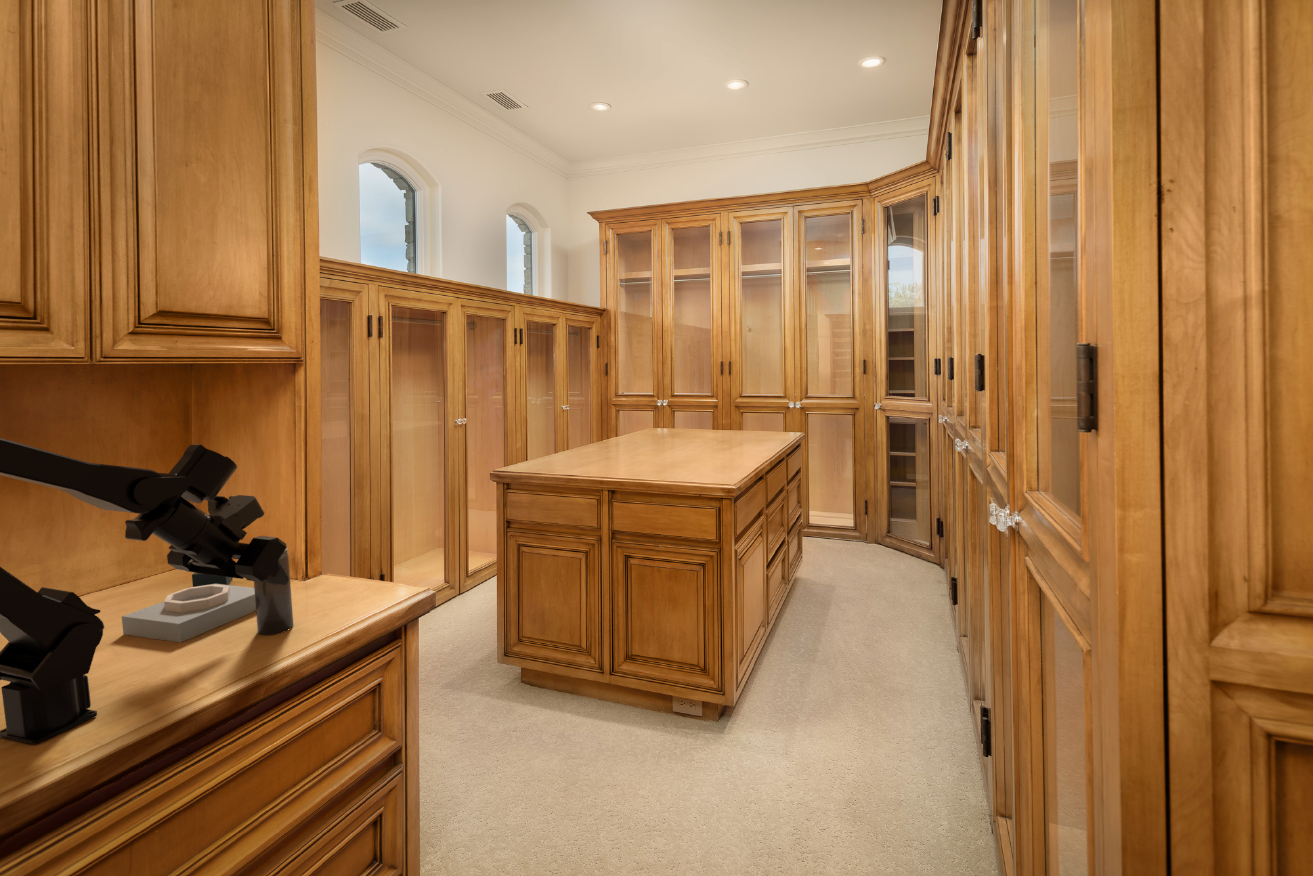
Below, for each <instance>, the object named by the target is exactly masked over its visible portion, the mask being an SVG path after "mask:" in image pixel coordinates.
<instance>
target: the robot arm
mask: <svg viewBox="0 0 1313 876" xmlns="http://www.w3.org/2000/svg"><path fill="white" fill-rule="evenodd" d="M237 469H238V466H237V464H236V462H235V461H234V460H232V459H231V458H230V457H228V456H224V455H223V454H221V453H219V452H216V451H214V450H212V449H209V448H206V446H204V445H202V444H194V443H192V444H189V445H188V447H187V448H185V450H184V452H183V455H182V456H181V457H180V459H179V460H178V461H177V462H176V463H175V464H174V466H173V467H172V468H171V469H170V471H169V472H168V473H165V472H157V471H155V470H153V469H148V468H140V467H134V466H133V467H131V466H122V465H113V464H112V465H111V464H103V463H95V462H88V461H84V460H81V459H77V458H74V457H69V456H66V455H62V454H58V453H55V452H52V451H48V450H44V449H40V448H39V447H38V448H37V447H34V446H30V445H28V444H27V445H26V444H24V443H23V444H22V443H19V442H15V441H12V440H8V439H5V438H1V437H0V476H1V477H6V478H10V479H14V480H18V481H22V482H27V483H30V484H31V483H32V484H36V485H40V486H42V487H43V486H44V487H47V488H48V487H49V488H52V489H57V490H60V491H62V492H65V493H67V494H69V495H71V496H72V497H74V498H76V499H78V500H79V501H82V502H84V503H86V504H89V505H92V506H94V507H96V508H99V509H101V510H104V511H109V512H110V511H112V512H120V513H121V512H122V513H132V514H138V515H137V516H135V517H134V518H132V519H127V520H125V522H124V523H125V532H124V533H125V534H124V537H125V539H127V540H133V541H141V542H142V541H143V542H146V541H147V540H148V539H149V538H150V537H151V536H152V535H153V536H156V538H157V537H158V538H159V539H161V540H162V541H164V542H165V543H167V544H168V545H170V546H169V547H168V550H170V551H169V552H168V554H167V555H166V560H167V564H168V565H169V566H171V567H173V568H175V569H176V570H179V571H180V570H181V571H186V573H187V572H189V573H201V574H209V575H216V576H224V577H231V578H233V579H240V580H243V579H246V580H247V581H250V582H254V581H257V582H264V583H273V584H280V585H286V584H287V582H288V581H289V578H288V576H287V574H286V572H285V571H284V569H283V567H282V566H281V564H280V561H279V559H280V557H281V556H282V554H283V552H284V551H285V549H286V548H288V547H287V543H286V542H285V541H283V539H280V538H279V537H276V536H266V535H259V536H255V537H253V538H252V539H251V540H250V542H249V543H245V542H240V541H242V540H244V539H245V536H246V535H247V534H248V532H247V531H246V530H244V529H246V528H247V527H249V526H250V525H251V524H253V523H255V521H256V520H258V519H260V518H262V517H263V516H264V515H265V511H264V509H263V508H262V506H261V504H260V502H259V501H258V499H257V497H256V496H254V495H244V494H237V495H235V496H234V495H230V496H228V497H225V496H223V495H219V494H220V493H221V490H223V487H225V485H226V484H227V482H229V480H230V479H231V477H232V475H233V474H234V473H235V472H236V470H237ZM204 501H207V512H208V514H207V513H206V512H204V511H203V510H201V509H200V508H199V507H198V506H196V505H194V504H201V503H202V502H204ZM192 503H194V504H192ZM235 560H236V561H235ZM40 587H41V586H40ZM100 613H101V609H97V608H93V607H91V606H89V605H87V604H86V603H85V602H84V600H82V599H81V597H80V596H79V595H77V594H76V593H75V591H74V592H73V591H67V590H63V589H62V590H61V589H56V588H51V587H46V586H45V587H44V586H42V587H41V588H40V589H39V590H38V591H37V590H35V589H33V588H31V587H30V586H29V585H28V584H26V583H24V582H23V581H22V580H20V579H19V578H18V577H16V576H15V575H13V574H12V573H10V572H8V571H7V570H6V569H4V568H3V567H2V566H0V635H2V636H3V637H4V638H5V640H7V641H8V642H7V643H6V644H5V646H4V647H3V648H2V649H1V650H0V681H6V682H9V683H7V684H5V685H3V686H1V695H2V704H3V710H4V712H3V713H4V719H5V728H3V729H1V730H0V738H2V739H8V740H10V741H11V740H12V741H17V742H21V743H25V744H30V745H36V744H39V743H40V744H41V742H44V741H47V740H48V739H50V738H52V737H55V736H57V735H59V734H61V733H62V732H65V731H67V730H70V729H72V728H74V727H76V726H77V725H81V724H82V723H85V722H86V721H89V720H91V719H93V718H96V717H97V716H98V711H97V710H93V709H91V707H92V703H91V695H90V694H91V693H90V683H89V677H88V675H87V674H89V672H90V671H91V666H92V663H93V659H94V656H95V653H96V650H97V647H98V646H99V645H100V643H101V641H102V639H103V635H104V629H105V624H104V621H102V619H101V618H100V617H99V616H97V615H98V614H100Z"/></svg>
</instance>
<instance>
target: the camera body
mask: <svg viewBox="0 0 1313 876" xmlns="http://www.w3.org/2000/svg"><path fill="white" fill-rule="evenodd" d="M254 612H256V603H255V590H254V587H250V586H240V585H232V584H229V585H223V584H212V585H204V586H197V587H193V586H192V587H187V588H184V589H181V590H178V591H176V592H172V593H169V594H167V596H166V597H165V599H164V601H162V602H158V603H156V604H153V605H150V606H147V607H144V608H141V609H139V610H136V611H132V612H130V613H127V614H125V615H122V616H121V625H122V634H123V635H125V636H133V637H139V638H147V639H152V640H160V641H161V640H162V641H167V642H175V643H182V642H185V641H187V640H189V639H192V638H195V637H197V636H199V635H200V636H201V634H204V633H207V632H209V631H212V630H214V629H216V628H218V627H221V626H223V625H226V624H228V623H230V622H232V621H235V620H237V619H240V618H243V617H244V616H247V615H249V614H251V613H254Z"/></svg>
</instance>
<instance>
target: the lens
mask: <svg viewBox="0 0 1313 876" xmlns="http://www.w3.org/2000/svg"><path fill="white" fill-rule="evenodd" d="M289 557H290V556H289V548H288V547H287V548H286V549H285V551H284V552H283V554H282V556H281V557H280V559H279V561H280V564H281V566H282V567H283V569H284V571H285V572H286V574H287V576H288V578H289V581H288V582H287V584H286V585H280V584H273V583H264V582H257V581H253V586H254V587H253V588H254V590H255V603H256V611H255V613H256V614H255V615H256V616H255V617H256V626H257V627H256V628H257V634H258V635H260V636H274V634H275V635H278V634H277V633H279V634H282V633H281V632H283V631H286V632H288V631H289V630H288V629H290V628H291V627H293V628H294V616H293V615H294V614H293V613H294V612H293V599H292V587H291V584H292V583H291V574H290V559H289ZM287 630H288V631H287ZM290 630H291V629H290ZM283 633H284V632H283Z"/></svg>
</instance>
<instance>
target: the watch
mask: <svg viewBox="0 0 1313 876" xmlns="http://www.w3.org/2000/svg"><path fill="white" fill-rule="evenodd" d="M232 579H233V580H234V578H231V577H224V576H216V575H209V574H201V573H194V572H192V574H191V581H192V587H197V586H204V585H212V584H223V585H230V584H231V583H232V582H233V581H232ZM231 581H232V582H231ZM230 582H231V583H230ZM229 583H230V584H229Z"/></svg>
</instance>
